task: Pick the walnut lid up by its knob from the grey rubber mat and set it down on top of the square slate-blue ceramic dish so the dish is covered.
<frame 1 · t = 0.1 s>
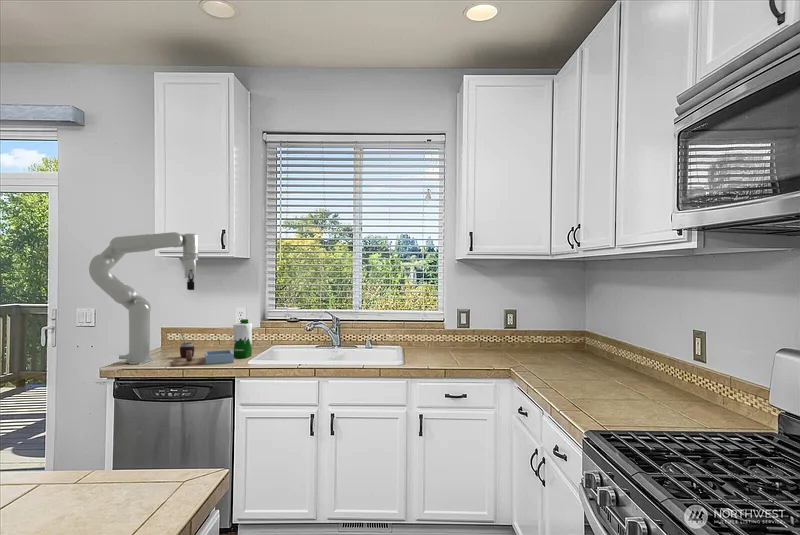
hand: (190, 289, 270), 37 cm above the worktop, tool pointing down, fingers open, 9 cm apart
lid: (189, 362, 256), point 1 cm above the worktop, touching mat
mat: (189, 364, 256), on the worktop
mate gourd: (186, 358, 272), on the worktop
dish: (218, 362, 261), on the worktop
milk carton: (242, 357, 277), on the worktop
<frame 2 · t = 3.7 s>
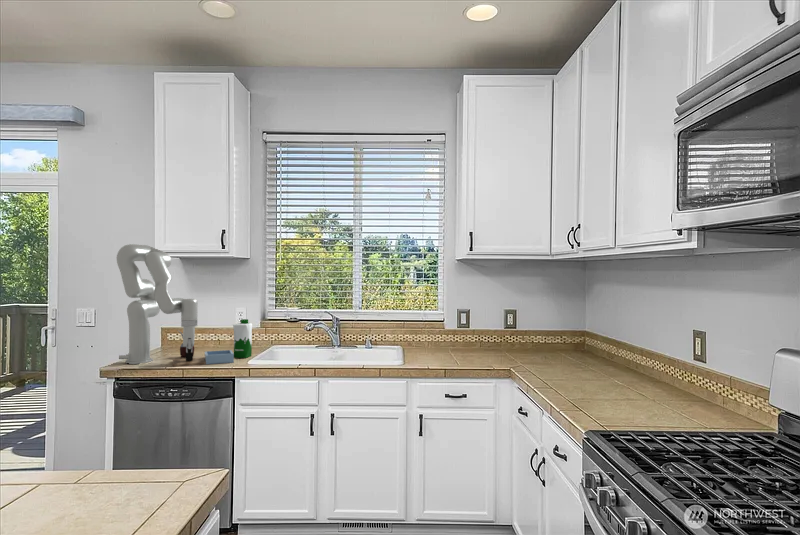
hand: (189, 360, 256), 2 cm above the worktop, tool pointing down, fingers closed on lid, 2 cm apart
lid: (189, 362, 256), point 1 cm above the worktop, touching gripper, mat
everything else where it was.
when the fingers open (8 cm above the worktop, at t = 7.6 s): lid drops 1 cm, resting on dish.
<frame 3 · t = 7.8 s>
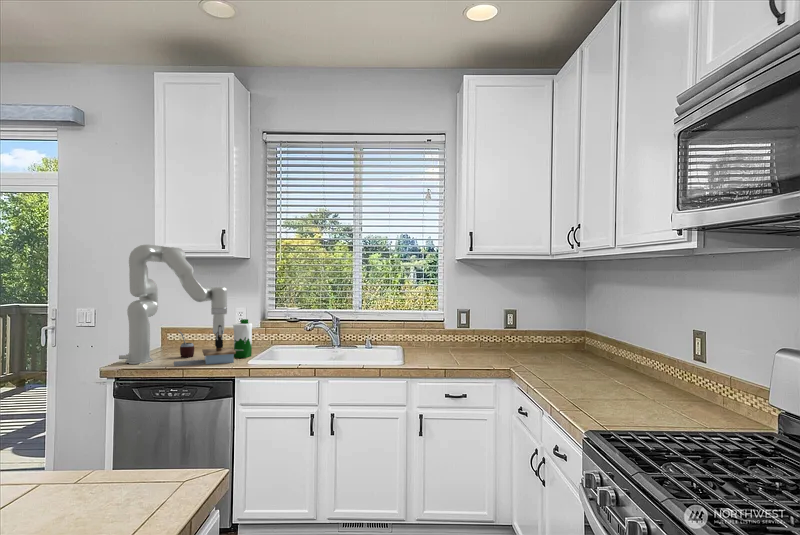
hand: (219, 346, 261), 8 cm above the worktop, tool pointing down, fingers open, 4 cm apart
lid: (218, 352, 261), point 5 cm above the worktop, touching dish
everything else where it was.
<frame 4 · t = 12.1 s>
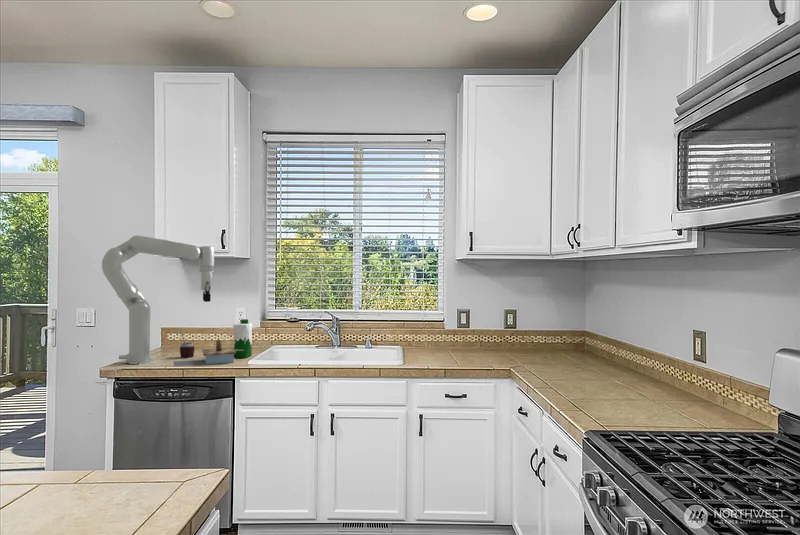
hand: (206, 301, 275), 30 cm above the worktop, tool pointing down, fingers open, 9 cm apart
nothing on the worktop moved.
at the end: lid 0.0 cm off-centre on the dish, point 5.0 cm above the dish's base; lid tilted 0°; the gripper is holding nothing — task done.
